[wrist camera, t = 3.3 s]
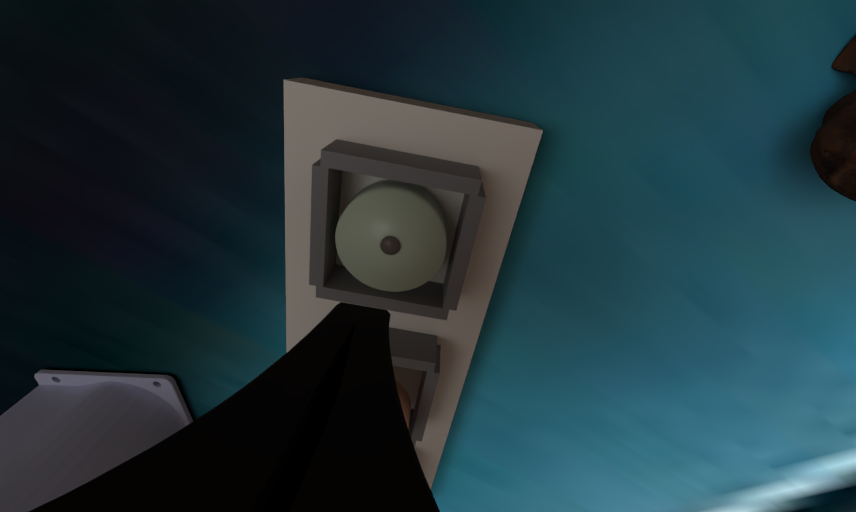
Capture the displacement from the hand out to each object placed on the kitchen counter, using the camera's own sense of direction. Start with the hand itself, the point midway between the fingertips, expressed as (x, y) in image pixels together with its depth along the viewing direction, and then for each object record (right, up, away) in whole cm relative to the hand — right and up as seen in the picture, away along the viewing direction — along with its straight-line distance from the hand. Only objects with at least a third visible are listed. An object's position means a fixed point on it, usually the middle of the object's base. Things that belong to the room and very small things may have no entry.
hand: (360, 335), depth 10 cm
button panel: (-1, -3, +12) cm, 13 cm away
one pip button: (0, +3, +6) cm, 7 cm away
